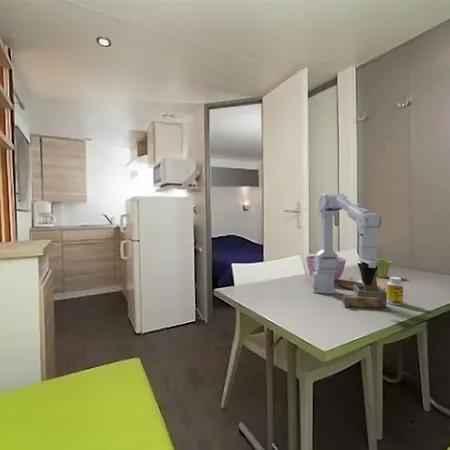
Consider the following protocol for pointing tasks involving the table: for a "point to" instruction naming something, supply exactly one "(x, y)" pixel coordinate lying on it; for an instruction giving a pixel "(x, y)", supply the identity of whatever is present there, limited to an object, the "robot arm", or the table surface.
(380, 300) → the crank
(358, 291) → the tray
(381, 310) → the crank base
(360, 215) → the robot arm
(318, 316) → the table surface
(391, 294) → the supplement bottle
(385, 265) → the plant pot
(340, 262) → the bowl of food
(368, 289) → the olive rounded piece
